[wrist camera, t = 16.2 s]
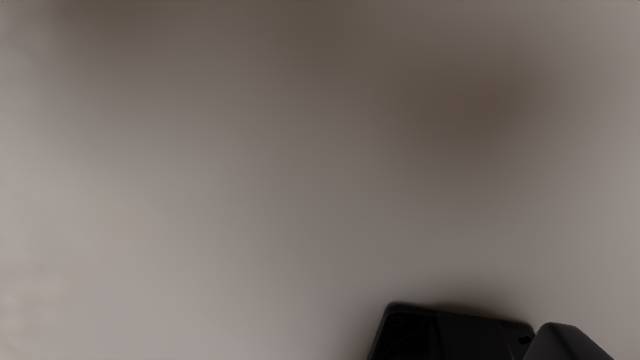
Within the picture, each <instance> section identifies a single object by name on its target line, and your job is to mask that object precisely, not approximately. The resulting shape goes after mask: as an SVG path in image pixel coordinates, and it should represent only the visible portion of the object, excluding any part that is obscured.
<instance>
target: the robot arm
mask: <svg viewBox="0 0 640 360" xmlns="http://www.w3.org/2000/svg"><path fill="white" fill-rule="evenodd" d="M395 316H401V317H399V318H393V317H395ZM522 336H524V337H522ZM368 360H614V359H613V358H612V357H610V356H609V355H608V354H607V353H606V352H605V351H604V350H603V349H601V348H600V347H599V346H598V345H597V344H596V343H595V342H593V341H592V340H591V339H590V338H589V337H588V336H587V335H585V334H584V333H583V332H582V331H581V330H580V329H578V328H577V327H575V326H572V325H566V324H560V323H553V322H549V323H545V324H544V325H542V326H541V327H540V329H539V331H538V332H537V334H536V335H535V333H534V330H533V328H532V327H531V326H529V325H526V324H520V323H514V322H507V321H501V320H495V319H488V318H482V317H475V316H469V315H463V314H456V313H450V312H444V311H437V310H431V309H425V308H418V307H412V306H406V305H392V306H390V307H388V308H387V309H386V311H385V313H384V316H383V318H382V321H381V324H380V327H379V329H378V332H377V335H376V338H375V340H374V343H373V346H372V349H371V352H370V354H369V357H368Z"/></svg>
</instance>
